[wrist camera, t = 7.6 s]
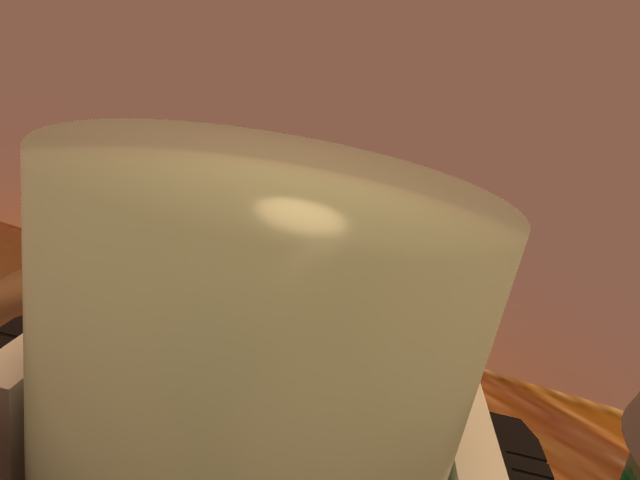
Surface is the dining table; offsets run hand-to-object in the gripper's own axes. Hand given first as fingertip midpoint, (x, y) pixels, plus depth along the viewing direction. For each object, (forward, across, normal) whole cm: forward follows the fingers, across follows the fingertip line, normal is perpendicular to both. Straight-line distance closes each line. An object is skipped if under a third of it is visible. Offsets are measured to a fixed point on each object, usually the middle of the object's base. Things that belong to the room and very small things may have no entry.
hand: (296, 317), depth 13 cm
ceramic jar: (-5, 0, -6) cm, 8 cm away
